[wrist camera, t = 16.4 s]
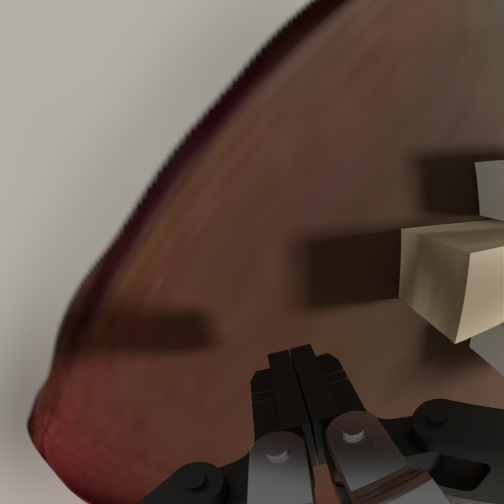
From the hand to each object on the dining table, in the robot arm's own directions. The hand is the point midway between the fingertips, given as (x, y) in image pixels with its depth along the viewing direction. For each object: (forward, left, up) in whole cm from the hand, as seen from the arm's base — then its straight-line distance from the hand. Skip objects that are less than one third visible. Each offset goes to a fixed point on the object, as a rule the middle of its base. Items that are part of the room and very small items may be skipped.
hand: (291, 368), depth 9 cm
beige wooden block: (+1, -12, -4) cm, 13 cm away
